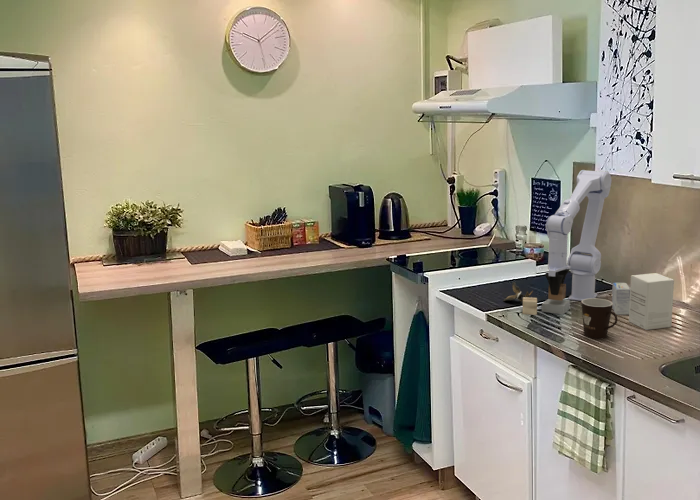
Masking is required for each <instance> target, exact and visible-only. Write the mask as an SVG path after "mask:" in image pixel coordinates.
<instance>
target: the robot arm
mask: <svg viewBox="0 0 700 500" xmlns="http://www.w3.org/2000/svg"><path fill="white" fill-rule="evenodd" d="M612 181H613V179H612V176H611V173H610V172H609V171H607V170H605V171H603V170H602V171H601V170H599V171H598V170H587V169H586V170H585V169H582V170H580V171H579V173H578V174H577V176H576V186H575V188H574V189H573V191H572V193H571V195H570V197H569V198H566V199H564V200H563V202H562V203H561V204H560V206H559V208H558V209H557V210H556V211H555V213H554V214H552V215H550V216H548V217H547V219H546V223H545V230H546V232H547V238H548V259H547V260H548V262H547V269H548V272H546V273H545V275H544V276H545V278H546V280H547V283H548V288H549V287H550V292H551V295H558V293H559V289H560V284H565V280H566V278H567V275H568V273H569V271H570V273H571V274H572V276H571V277H572V279H571V294H570V295H569V296H568V300H569V301H579V302H581V301H582V300H584V299H589V298H597V296H598V293H596V292H595V291H596V275H597V273H599V271H600V270H601V266H602V261H601V259H602V253H601V252H600V250H599V249H598V248H597V247H596V246H595V245H596V241H597V237H598V232H599V228H600V223H601V218H602V213H603V208H604V204H605V199H606V198H608V197H609V195H610V191H611V186H612ZM586 197H587V200H588V201H587V207H586V211H585V216H584V220H583V224H582V225H583V226H582V228H581V229H582V230H581V234H580V241H579V243H578V244H577V245H576V246H574V247H571V250H570V253H569V256H568V235H569V234H570V232H571V230H572V227H573V224H574V219H575V218H576V216H577V214H579V211H580V210H581V209H580V208H581V207H580V204H581V203H582V202H583V200H584V199H585V198H586Z"/></svg>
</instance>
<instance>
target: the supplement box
mask: <svg viewBox="0 0 700 500" xmlns="http://www.w3.org/2000/svg"><path fill="white" fill-rule="evenodd" d="M674 287H675V280H674V279H673V278H670V277H668V276H664V275H662V274H660V273H657V272H654V273H644V274H643V273H642V274H634V275H630V286H629V288H630V305H629V315H628V322H629V323H631V324H633V325H635V326H637V327H639V328H641V329H644V330H645V331H647V330H648V331H649V330H655V329H656V330H657V329H664V328H671V327H672V321H673V305H674V303H673V302H674Z"/></svg>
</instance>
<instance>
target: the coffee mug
mask: <svg viewBox="0 0 700 500" xmlns="http://www.w3.org/2000/svg"><path fill="white" fill-rule="evenodd" d="M580 303H581V312H582V313H581V315H582V325H583V327H582V328H583V335H584V336H585V337H587V338H589V339H593V340H594V339H595V340H597V339H598V340H600V339H606V338H607V336H608V331H609V329H611V328H613V327H615V326H616V324H617V323H618V316H617V314H615V312H614V311H612V310H613V308H612V305H613V303H612V300H608V299H605V298H597V297H596V298H589V299H584V300H582V301H580ZM611 315H612V316H613V317H614V322H613V324H611V325H610V321H611V317H612V316H611Z"/></svg>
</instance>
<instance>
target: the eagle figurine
mask: <svg viewBox="0 0 700 500" xmlns="http://www.w3.org/2000/svg"><path fill="white" fill-rule="evenodd" d="M511 287H512V291H513V292H514V294H513V295H509V296H507V297H506V298H504V299H503V300H502V301H503V302H506V301H514V300H515V299H516V300H518V301H520V302H523V297H529V298H530V296H531V295H532V294H533V292H534V290H532V291H530V293H529V291H526V293H525V294H523V293H522V291H521V289H520V287H519V286H518V285H517V284H516V282H515V281H513V282H512V283H511Z"/></svg>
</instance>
